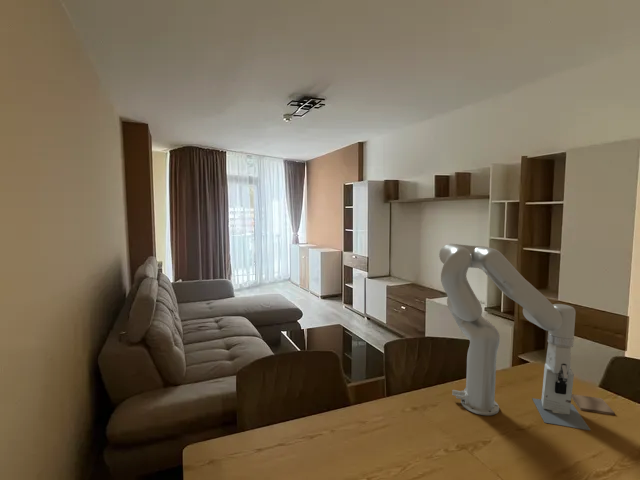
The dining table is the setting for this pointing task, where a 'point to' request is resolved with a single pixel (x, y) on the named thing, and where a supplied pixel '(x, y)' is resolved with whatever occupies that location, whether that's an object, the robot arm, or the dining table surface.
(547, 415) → the gray tile
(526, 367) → the dining table surface
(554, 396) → the skincare box
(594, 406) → the coaster
